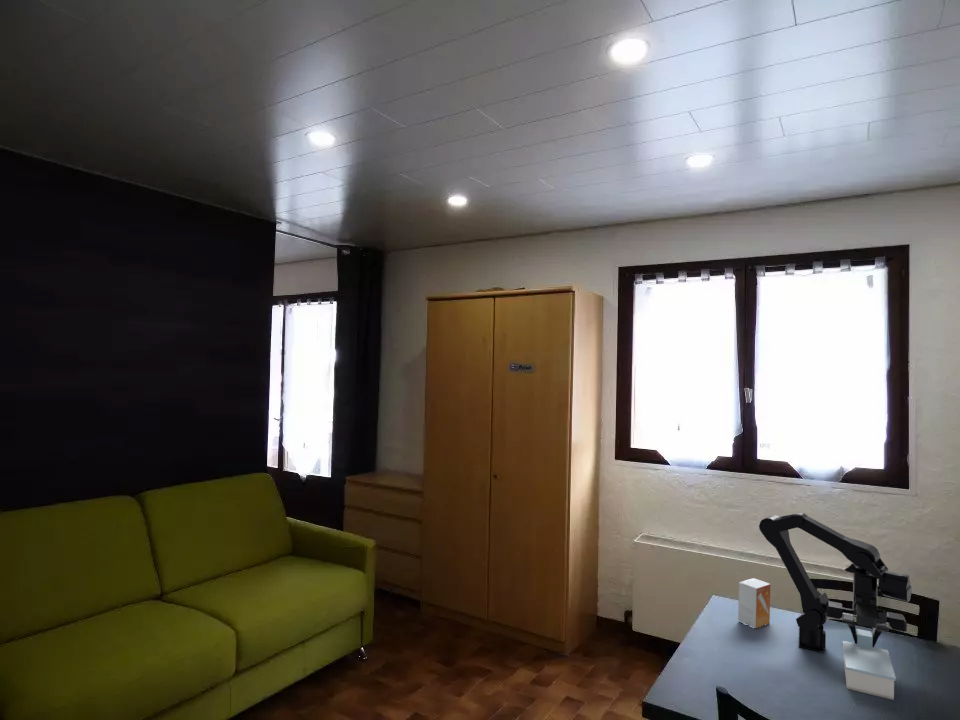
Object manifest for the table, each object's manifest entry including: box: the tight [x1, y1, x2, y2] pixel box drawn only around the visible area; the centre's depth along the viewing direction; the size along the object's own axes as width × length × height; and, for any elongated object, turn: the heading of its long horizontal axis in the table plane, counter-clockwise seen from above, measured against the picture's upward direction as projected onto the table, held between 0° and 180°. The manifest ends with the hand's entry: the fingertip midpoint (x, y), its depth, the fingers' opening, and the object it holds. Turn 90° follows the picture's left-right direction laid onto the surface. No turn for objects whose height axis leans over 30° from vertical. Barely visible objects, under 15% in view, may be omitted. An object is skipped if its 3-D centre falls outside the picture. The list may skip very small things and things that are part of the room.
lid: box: [842, 628, 897, 682], centre depth 158 cm, size 11×20×4 cm, turn 151°
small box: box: [737, 577, 771, 629], centre depth 190 cm, size 8×6×13 cm
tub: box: [843, 658, 895, 701], centre depth 157 cm, size 10×16×5 cm, turn 151°
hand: (864, 646), depth 165 cm, fingers closed on lid, 3 cm apart
